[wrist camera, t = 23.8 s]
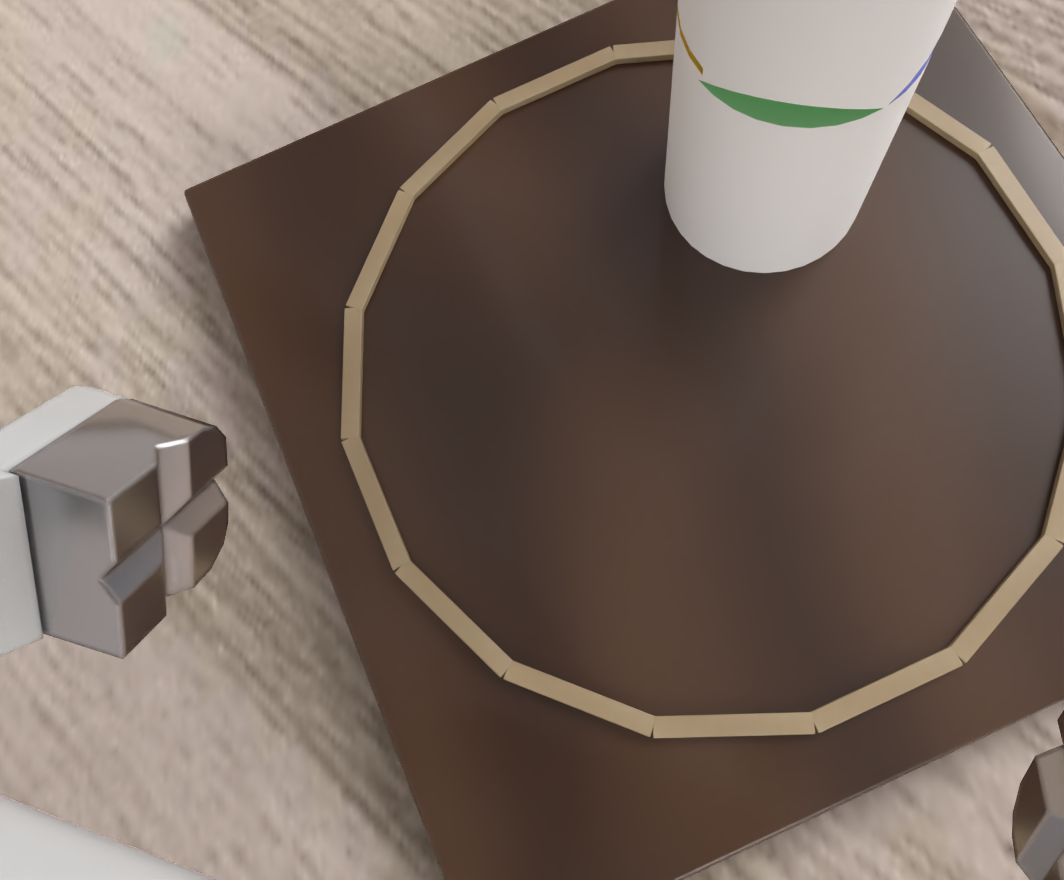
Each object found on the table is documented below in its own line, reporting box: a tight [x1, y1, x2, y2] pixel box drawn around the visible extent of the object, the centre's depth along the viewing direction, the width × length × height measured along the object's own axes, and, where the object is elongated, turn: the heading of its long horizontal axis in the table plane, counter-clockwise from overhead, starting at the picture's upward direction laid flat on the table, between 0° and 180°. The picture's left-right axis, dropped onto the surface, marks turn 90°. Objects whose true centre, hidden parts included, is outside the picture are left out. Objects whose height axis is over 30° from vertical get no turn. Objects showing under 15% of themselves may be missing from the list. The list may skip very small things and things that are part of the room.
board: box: [185, 0, 1064, 880], centre depth 21 cm, size 18×18×1 cm
